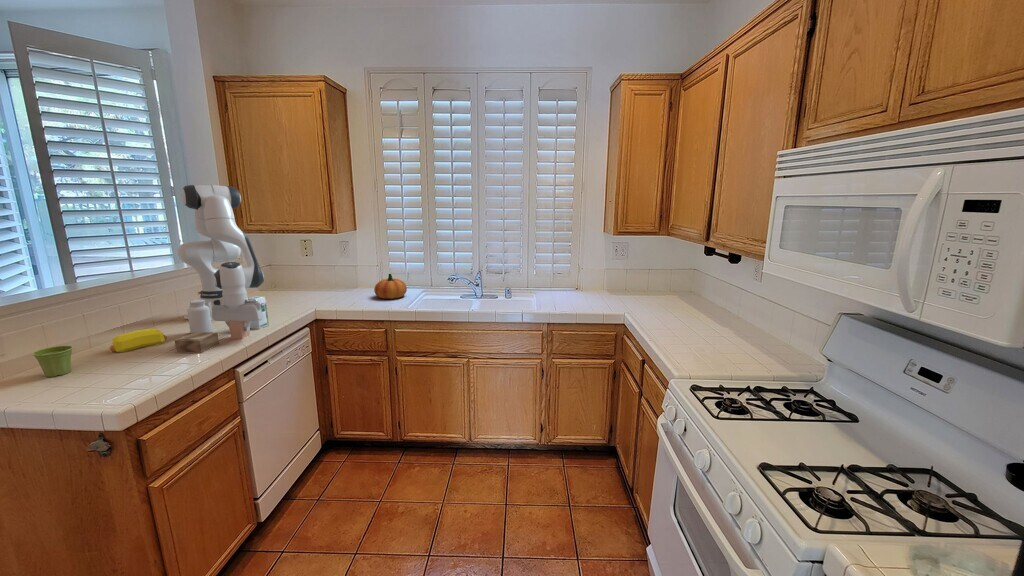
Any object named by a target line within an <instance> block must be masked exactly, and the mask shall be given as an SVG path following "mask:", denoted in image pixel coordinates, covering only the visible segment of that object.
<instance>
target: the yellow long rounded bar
mask: <svg viewBox="0 0 1024 576" xmlns="http://www.w3.org/2000/svg"><path fill="white" fill-rule="evenodd" d="M166 340H167V336H166V334H164V333H163V332H162V331H161V330H159V329H157V328H154V327H153V328H147V329H138V330H133V331H129V332H125V333H121V334H118V335H115V336H114V338H112V341H111V343H112V344H111V345H110V346H109V350H110V351H111V352H116V353H124V352H129V351H133V350H136V349H140V348H144V347H151V346H156V345H159V344H162V343H164V342H166Z"/></svg>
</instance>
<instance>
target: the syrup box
mask: <svg viewBox="0 0 1024 576" xmlns="http://www.w3.org/2000/svg"><path fill="white" fill-rule="evenodd" d="M247 298H248V297H247ZM248 300H256V301H258V302H259V303H260V306H261V311H262V315H263V318H262V319H261V320H260V321H257V322H253V321H252V323H251V325H250V326H249V327H250V329H254V328H256V330H257V329H259V330H260V329H264V328H266V327H268V326H270V324H269V317H268V311H267V309H268V308H267V301H266V297H265V296H263V295H262V296H261V295H257V296H252V297H249V298H248ZM256 303H257V302H256Z"/></svg>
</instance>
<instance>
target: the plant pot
mask: <svg viewBox="0 0 1024 576" xmlns="http://www.w3.org/2000/svg"><path fill="white" fill-rule="evenodd" d="M73 349H74V346H72V345H57V346H50V347H45V348H41V349H38V350H35V351H34V352H32V353H31V355H32V356H33V357H35V359H36V360H37V362H38V364H39V366H40V368H41V370H42V373H43V374H44V377H48V378H53V377H57V376H64V375H67V374H69V373H70V372H71V371H72V354H73V353H72V352H73Z"/></svg>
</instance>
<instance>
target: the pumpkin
mask: <svg viewBox="0 0 1024 576" xmlns="http://www.w3.org/2000/svg"><path fill="white" fill-rule="evenodd" d="M373 290H374V291H373V292H374V294H375V295H376V297H378V298H380V299H383V300H393V299H399V298H402V297H404V296H405V295H406V293H407V290H408V286H407V284H406V283H405V282H404V281H403V280H401V279H399V278H393V276H392V273H388V278H383V279H381V280H379V281H378V282H377V283H376V284H375V286H374V289H373Z"/></svg>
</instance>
